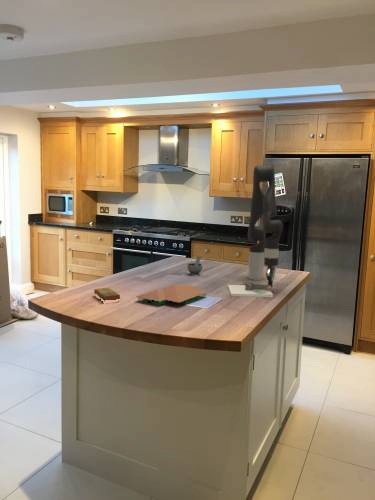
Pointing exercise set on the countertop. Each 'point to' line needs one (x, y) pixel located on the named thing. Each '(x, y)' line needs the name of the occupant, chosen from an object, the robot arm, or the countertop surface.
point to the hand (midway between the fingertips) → (270, 287)
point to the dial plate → (248, 292)
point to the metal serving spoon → (257, 286)
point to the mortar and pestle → (195, 267)
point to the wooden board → (173, 294)
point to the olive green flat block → (107, 294)
